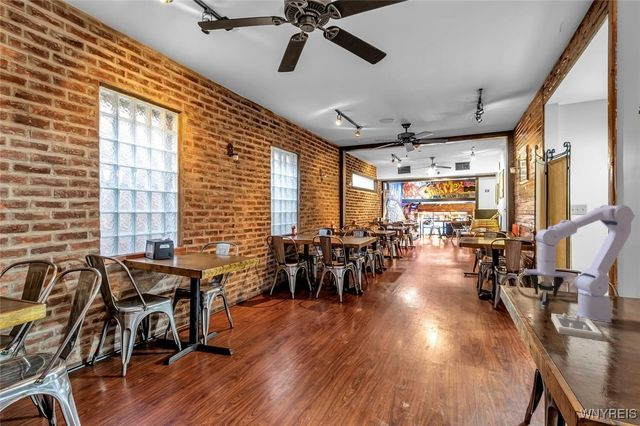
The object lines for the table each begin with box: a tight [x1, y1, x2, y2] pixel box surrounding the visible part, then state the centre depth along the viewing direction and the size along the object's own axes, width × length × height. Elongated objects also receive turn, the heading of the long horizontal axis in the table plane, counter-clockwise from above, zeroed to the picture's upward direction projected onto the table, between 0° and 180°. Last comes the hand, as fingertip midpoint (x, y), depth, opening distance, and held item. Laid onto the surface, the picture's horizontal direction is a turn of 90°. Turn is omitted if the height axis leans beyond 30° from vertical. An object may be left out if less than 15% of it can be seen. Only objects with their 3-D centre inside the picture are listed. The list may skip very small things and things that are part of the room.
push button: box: [538, 281, 554, 310], centre depth 126 cm, size 7×5×10 cm
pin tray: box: [550, 312, 603, 341], centre depth 112 cm, size 11×16×3 cm
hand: (545, 295), depth 126 cm, fingers closed on push button, 5 cm apart
